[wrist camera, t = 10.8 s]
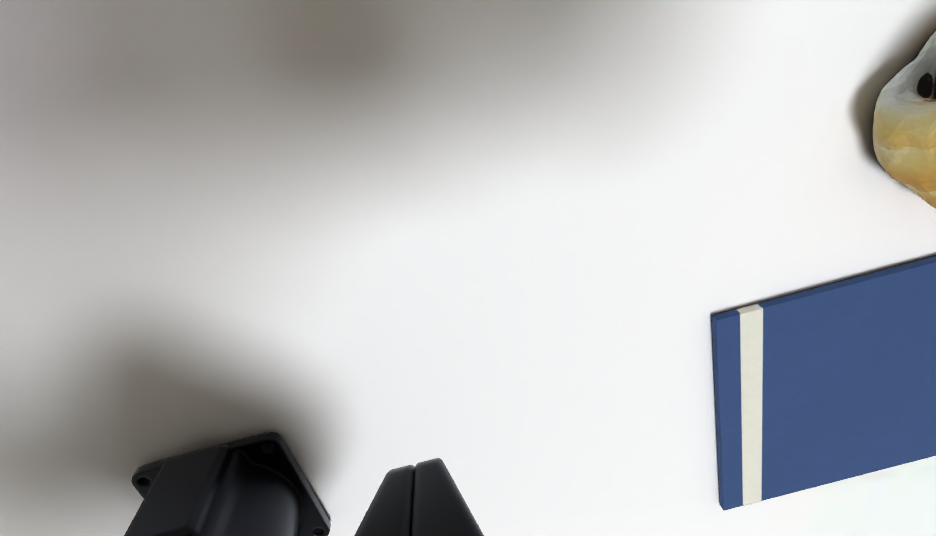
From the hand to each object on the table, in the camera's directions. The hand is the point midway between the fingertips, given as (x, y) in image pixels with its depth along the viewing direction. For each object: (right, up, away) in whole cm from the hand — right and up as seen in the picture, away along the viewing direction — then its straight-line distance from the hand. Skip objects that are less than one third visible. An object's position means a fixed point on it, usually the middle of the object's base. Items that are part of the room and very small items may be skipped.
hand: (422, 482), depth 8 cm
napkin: (+23, -1, +16) cm, 28 cm away
